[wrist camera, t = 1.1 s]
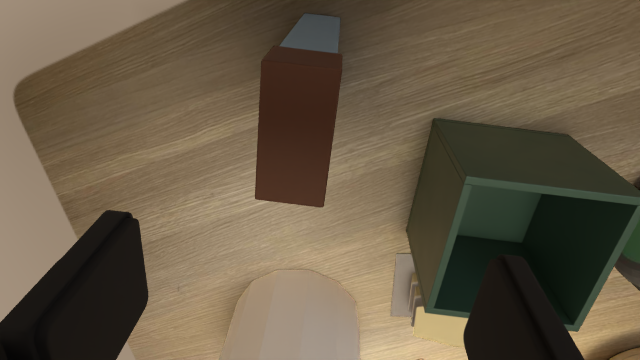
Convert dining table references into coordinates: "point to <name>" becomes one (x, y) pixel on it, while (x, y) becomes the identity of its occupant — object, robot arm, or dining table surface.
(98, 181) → the dining table surface
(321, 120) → the reddish brown block
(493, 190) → the bin
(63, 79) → the dining table surface
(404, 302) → the stacked layers on plate
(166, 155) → the dining table surface
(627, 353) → the vase
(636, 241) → the headphones
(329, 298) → the container
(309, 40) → the grey-blue rectangular block
